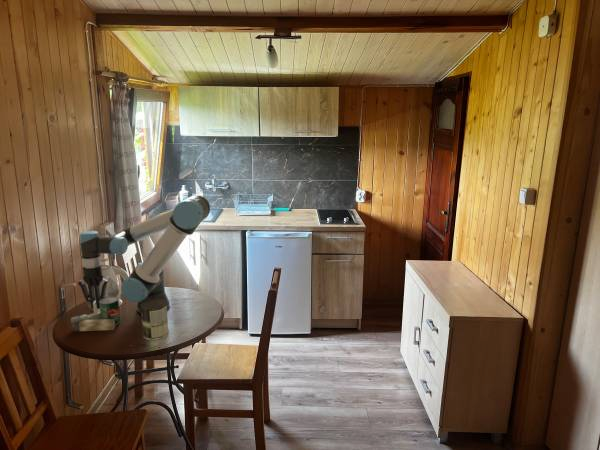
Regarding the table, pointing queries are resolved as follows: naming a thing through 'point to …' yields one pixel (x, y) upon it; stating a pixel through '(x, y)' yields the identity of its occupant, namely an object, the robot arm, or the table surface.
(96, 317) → the tongs jaw
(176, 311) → the table surface
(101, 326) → the tongs fixed arm
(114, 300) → the canned tomato
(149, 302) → the coffee can
